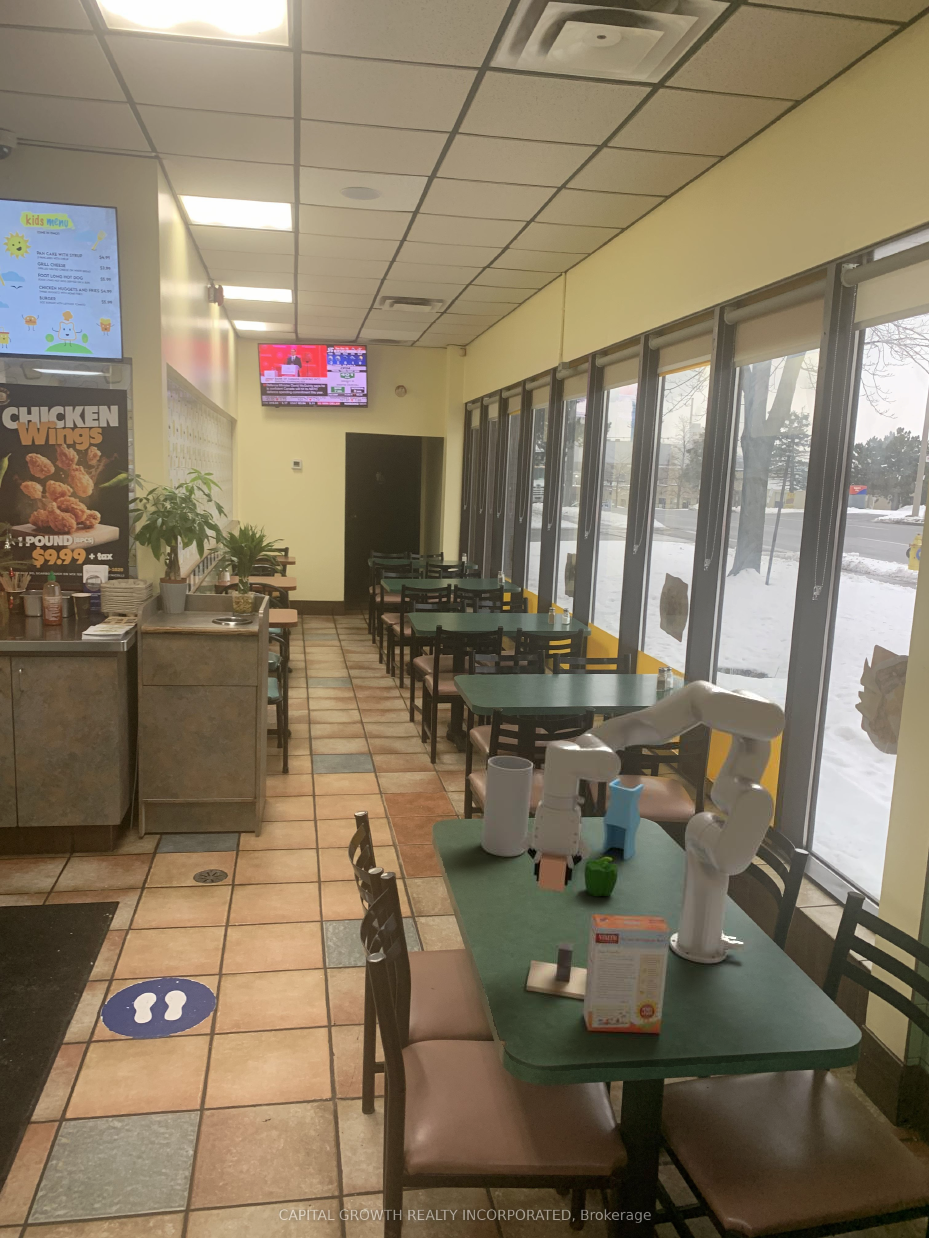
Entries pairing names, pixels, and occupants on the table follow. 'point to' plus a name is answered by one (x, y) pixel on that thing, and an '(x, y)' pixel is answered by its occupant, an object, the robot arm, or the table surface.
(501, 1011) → the table surface
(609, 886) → the bell pepper
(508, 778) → the cylinder vase
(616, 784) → the light blue tall piece
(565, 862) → the pale pink upright block
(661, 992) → the cracker box
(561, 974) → the post
